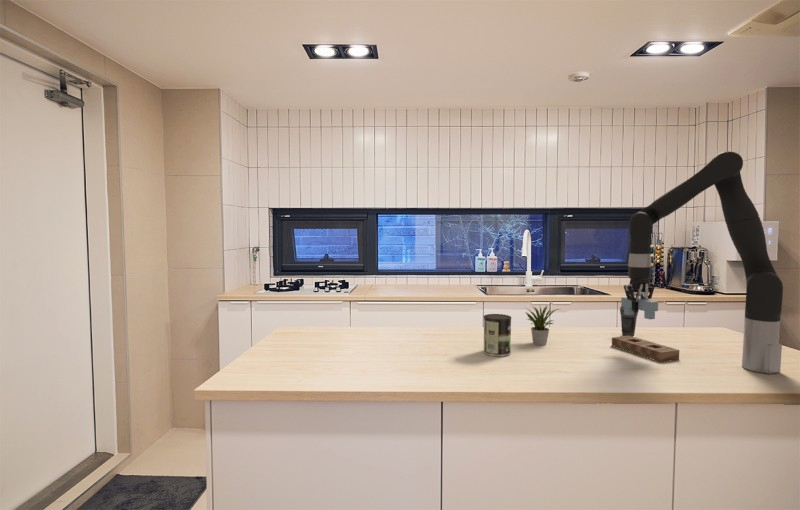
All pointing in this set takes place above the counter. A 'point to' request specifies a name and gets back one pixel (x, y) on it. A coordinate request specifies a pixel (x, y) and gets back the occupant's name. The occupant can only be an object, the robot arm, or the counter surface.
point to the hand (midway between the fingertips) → (639, 310)
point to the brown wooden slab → (646, 348)
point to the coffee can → (497, 335)
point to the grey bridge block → (640, 307)
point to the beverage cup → (628, 323)
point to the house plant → (540, 326)
